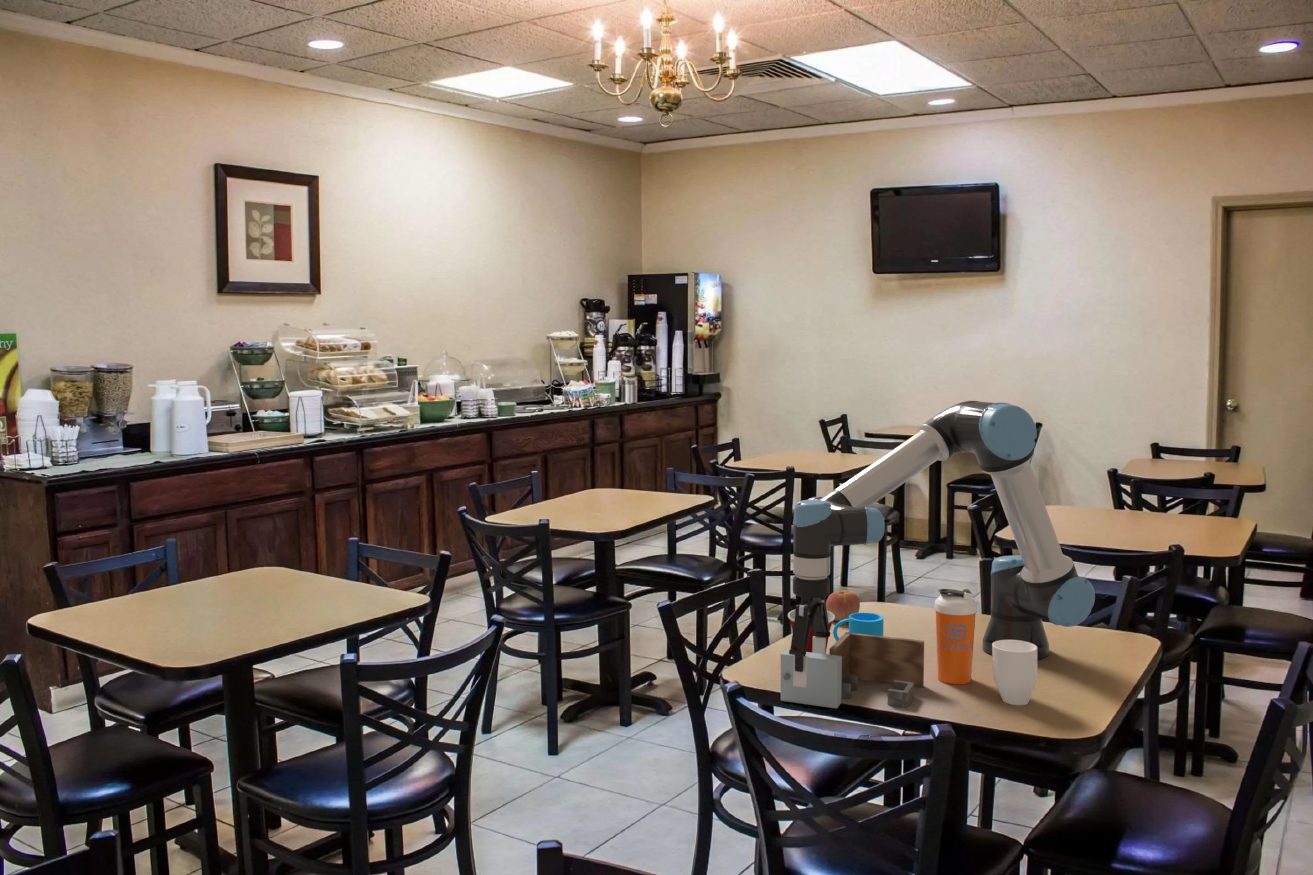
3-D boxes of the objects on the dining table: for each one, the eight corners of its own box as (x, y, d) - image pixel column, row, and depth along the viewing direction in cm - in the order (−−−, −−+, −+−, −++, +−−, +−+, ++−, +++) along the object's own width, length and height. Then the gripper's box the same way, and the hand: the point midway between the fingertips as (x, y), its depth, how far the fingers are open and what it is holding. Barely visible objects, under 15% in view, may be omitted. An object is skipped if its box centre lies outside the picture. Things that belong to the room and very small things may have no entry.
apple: (859, 625, 277) (860, 595, 276) (825, 624, 278) (825, 594, 278) (859, 616, 285) (859, 587, 285) (826, 615, 287) (826, 586, 286)
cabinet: (923, 685, 229) (924, 640, 228) (910, 707, 216) (910, 659, 215) (845, 675, 236) (845, 632, 235) (827, 696, 223) (828, 649, 222)
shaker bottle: (929, 672, 237) (930, 585, 236) (969, 672, 237) (971, 585, 235) (938, 686, 229) (940, 595, 227) (980, 686, 228) (982, 595, 226)
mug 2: (1042, 708, 214) (1042, 651, 213) (997, 709, 215) (997, 651, 214) (1028, 689, 226) (1027, 634, 224) (985, 689, 226) (985, 635, 225)
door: (841, 703, 219) (841, 656, 218) (835, 710, 215) (835, 662, 214) (785, 695, 224) (785, 649, 223) (779, 702, 220) (779, 655, 219)
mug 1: (883, 646, 258) (884, 613, 258) (882, 656, 251) (882, 622, 250) (834, 643, 261) (834, 610, 261) (831, 652, 253) (831, 619, 253)
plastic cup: (790, 672, 239) (790, 620, 238) (784, 657, 250) (784, 607, 249) (838, 671, 239) (838, 619, 238) (830, 657, 250) (831, 607, 249)
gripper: (810, 562, 230) (809, 657, 232) (774, 586, 207) (773, 691, 209) (844, 565, 227) (842, 662, 229) (811, 590, 204) (810, 697, 206)
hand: (809, 676), depth 219 cm, fingers open, 13 cm apart
